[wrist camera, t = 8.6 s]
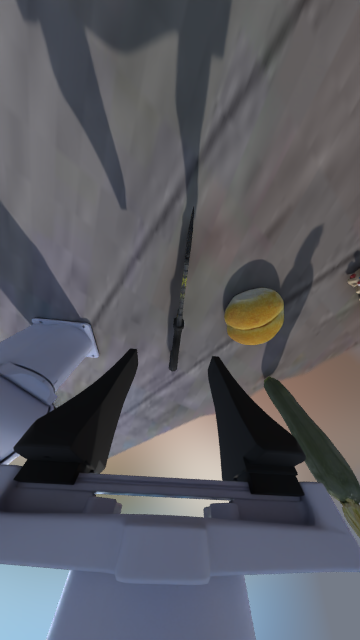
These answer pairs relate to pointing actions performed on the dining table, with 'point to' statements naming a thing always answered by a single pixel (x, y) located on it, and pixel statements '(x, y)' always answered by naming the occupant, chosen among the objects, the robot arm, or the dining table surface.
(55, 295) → the dining table surface
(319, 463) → the vegetable
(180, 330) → the knife
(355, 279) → the woven mat
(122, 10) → the dining table surface
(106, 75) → the dining table surface
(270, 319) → the bread roll
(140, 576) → the robot arm
